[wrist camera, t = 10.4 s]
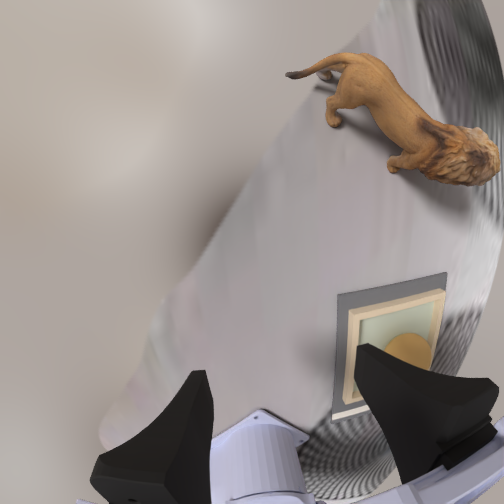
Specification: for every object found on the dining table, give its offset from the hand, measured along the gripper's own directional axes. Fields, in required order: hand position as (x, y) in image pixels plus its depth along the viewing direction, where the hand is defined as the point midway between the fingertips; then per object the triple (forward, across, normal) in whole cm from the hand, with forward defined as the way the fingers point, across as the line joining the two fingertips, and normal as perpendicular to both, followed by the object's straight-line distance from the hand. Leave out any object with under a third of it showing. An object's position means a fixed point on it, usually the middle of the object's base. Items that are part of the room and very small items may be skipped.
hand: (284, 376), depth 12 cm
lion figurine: (+10, -10, -13) cm, 19 cm away
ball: (+7, -12, +7) cm, 16 cm away
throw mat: (+9, -12, +8) cm, 17 cm away
